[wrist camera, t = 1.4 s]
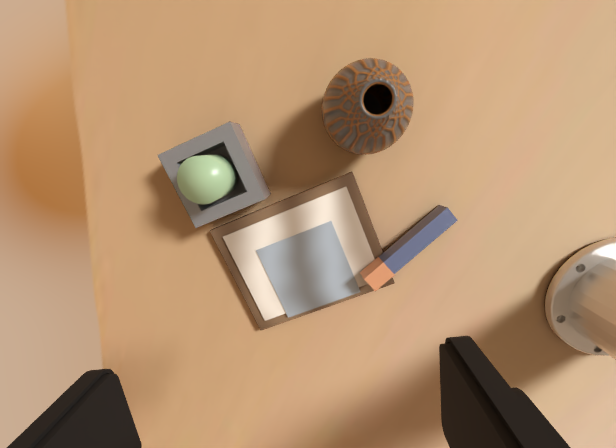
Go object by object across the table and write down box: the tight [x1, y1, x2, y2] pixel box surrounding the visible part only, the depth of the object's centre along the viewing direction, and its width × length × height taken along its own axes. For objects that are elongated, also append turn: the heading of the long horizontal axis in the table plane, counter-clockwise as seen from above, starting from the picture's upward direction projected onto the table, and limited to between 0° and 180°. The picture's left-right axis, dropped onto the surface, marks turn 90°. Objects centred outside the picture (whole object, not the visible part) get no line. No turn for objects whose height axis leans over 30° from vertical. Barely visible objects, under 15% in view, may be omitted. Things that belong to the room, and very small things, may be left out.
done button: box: [177, 155, 238, 204], centre depth 25 cm, size 4×4×4 cm
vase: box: [322, 58, 413, 154], centre depth 23 cm, size 7×7×9 cm
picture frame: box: [210, 172, 394, 330], centre depth 30 cm, size 15×12×1 cm
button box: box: [158, 122, 271, 228], centre depth 27 cm, size 7×7×3 cm
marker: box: [360, 205, 457, 291], centre depth 28 cm, size 10×2×2 cm, turn 132°
